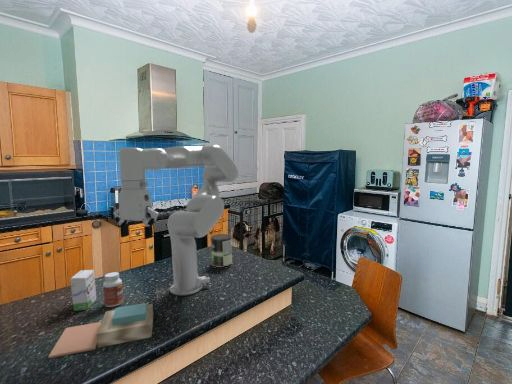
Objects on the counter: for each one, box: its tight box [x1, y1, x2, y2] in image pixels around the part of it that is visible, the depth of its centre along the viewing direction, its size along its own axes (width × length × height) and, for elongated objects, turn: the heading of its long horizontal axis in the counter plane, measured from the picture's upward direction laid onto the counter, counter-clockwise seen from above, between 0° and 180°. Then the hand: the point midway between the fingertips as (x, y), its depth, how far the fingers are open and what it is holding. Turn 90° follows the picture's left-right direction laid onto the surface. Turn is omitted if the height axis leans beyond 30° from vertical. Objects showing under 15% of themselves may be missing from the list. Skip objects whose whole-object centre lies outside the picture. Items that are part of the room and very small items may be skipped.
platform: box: [97, 303, 154, 348], centre depth 87 cm, size 14×13×4 cm
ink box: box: [70, 269, 97, 312], centre depth 104 cm, size 8×5×12 cm, turn 10°
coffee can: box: [210, 233, 233, 268], centre depth 142 cm, size 10×10×14 cm
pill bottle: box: [102, 271, 124, 308], centre depth 104 cm, size 6×6×11 cm
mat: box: [48, 321, 102, 359], centre depth 84 cm, size 11×14×1 cm
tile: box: [112, 302, 148, 326], centre depth 87 cm, size 9×7×2 cm
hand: (136, 237), depth 95 cm, fingers open, 9 cm apart
